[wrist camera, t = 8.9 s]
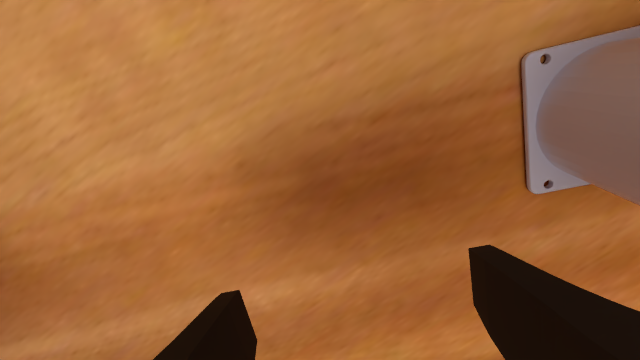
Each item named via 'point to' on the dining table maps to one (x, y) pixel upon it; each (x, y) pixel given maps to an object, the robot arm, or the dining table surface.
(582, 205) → the dining table surface
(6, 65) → the dining table surface
